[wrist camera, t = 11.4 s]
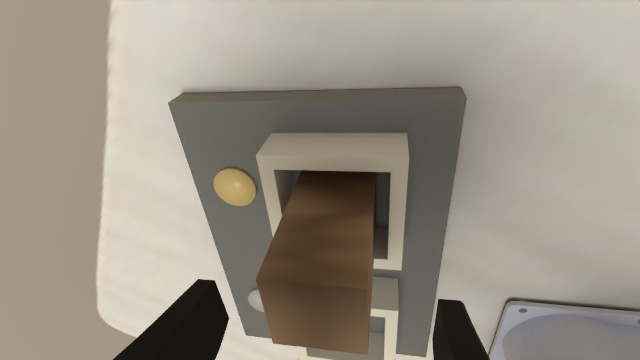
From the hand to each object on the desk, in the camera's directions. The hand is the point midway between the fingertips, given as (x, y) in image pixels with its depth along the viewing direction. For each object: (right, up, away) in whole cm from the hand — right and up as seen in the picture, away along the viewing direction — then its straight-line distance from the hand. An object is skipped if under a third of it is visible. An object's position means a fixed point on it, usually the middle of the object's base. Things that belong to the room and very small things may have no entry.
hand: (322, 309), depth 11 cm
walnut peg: (+1, +3, +8) cm, 9 cm away
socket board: (0, 0, +13) cm, 13 cm away
